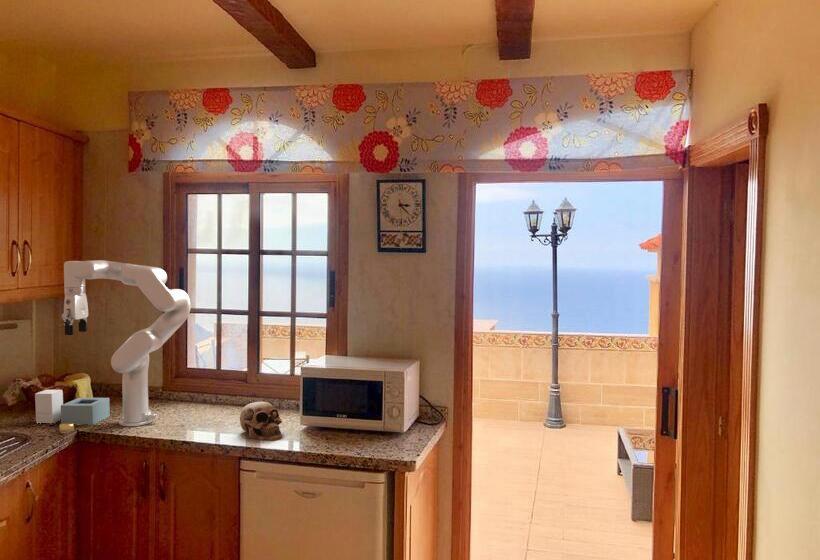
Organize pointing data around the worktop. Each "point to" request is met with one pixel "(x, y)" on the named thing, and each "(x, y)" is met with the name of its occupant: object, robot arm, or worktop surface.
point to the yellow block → (66, 427)
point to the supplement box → (48, 406)
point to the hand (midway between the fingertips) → (76, 333)
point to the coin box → (85, 410)
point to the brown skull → (261, 421)
